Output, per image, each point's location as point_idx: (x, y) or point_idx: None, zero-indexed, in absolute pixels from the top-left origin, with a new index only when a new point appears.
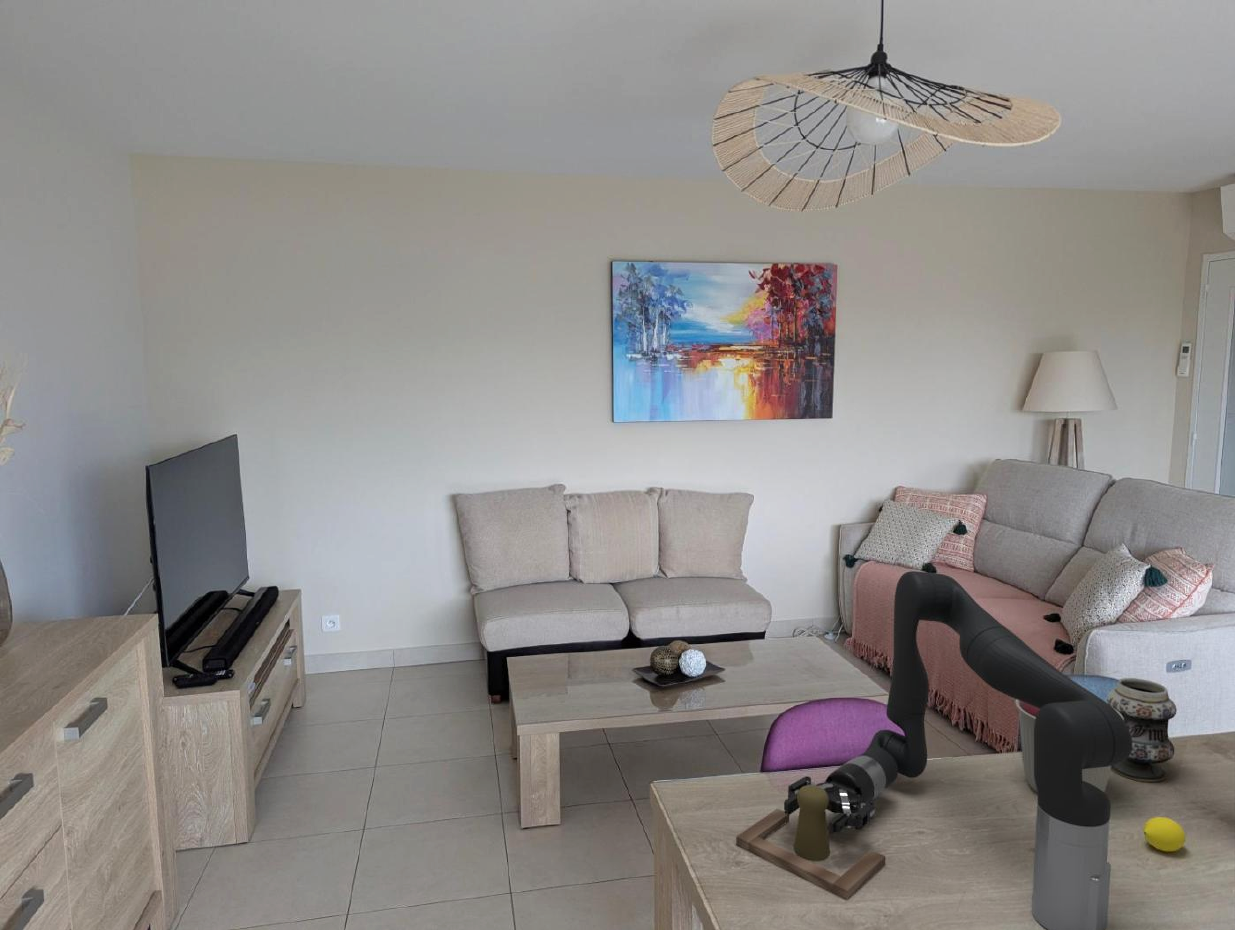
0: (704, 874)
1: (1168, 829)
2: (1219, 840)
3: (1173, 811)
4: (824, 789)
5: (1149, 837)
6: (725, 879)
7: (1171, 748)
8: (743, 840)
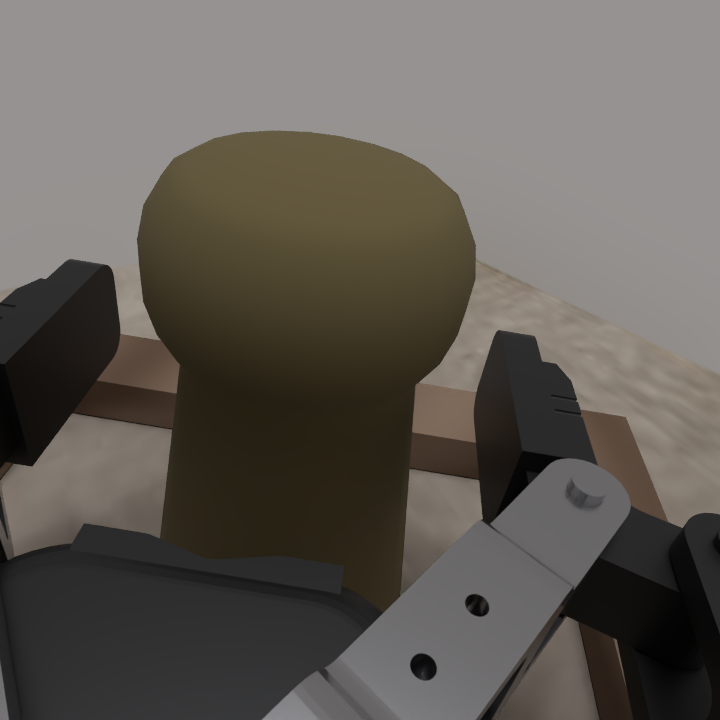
0: (532, 300)
1: None
2: None
3: None
4: (329, 674)
5: None
6: (469, 302)
7: None
8: (581, 412)
